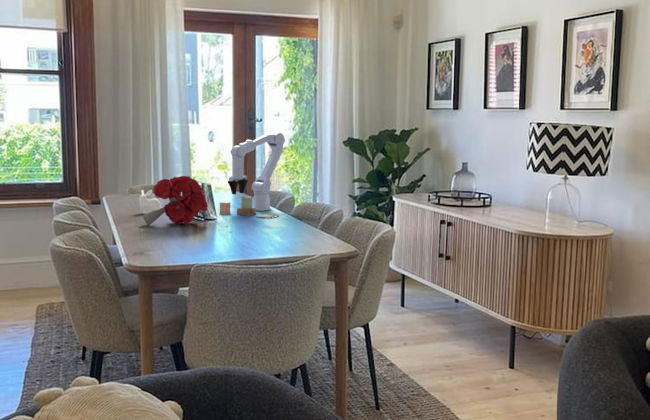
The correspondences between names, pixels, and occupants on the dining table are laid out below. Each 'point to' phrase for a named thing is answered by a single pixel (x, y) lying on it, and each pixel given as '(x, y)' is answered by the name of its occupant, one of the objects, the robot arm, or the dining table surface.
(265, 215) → the card
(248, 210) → the walnut slab
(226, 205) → the terracotta block
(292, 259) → the dining table surface
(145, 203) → the rabbit
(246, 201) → the sage block
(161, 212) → the bouquet
